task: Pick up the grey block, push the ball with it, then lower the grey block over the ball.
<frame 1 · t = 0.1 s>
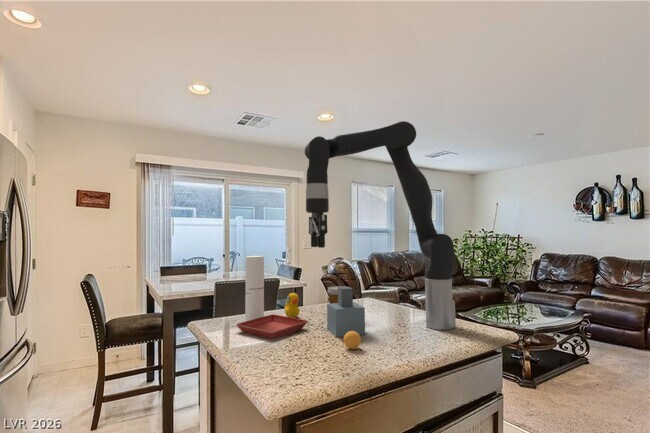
hand: (317, 247, 114), 29 cm above the counter, tool pointing down, fingers open, 8 cm apart
ball: (352, 339, 101), on the counter
disposable coffee cup: (339, 318, 140), on the counter
duckling: (292, 318, 141), on the counter
grey block: (345, 331, 119), on the counter
plant saucer: (272, 332, 122), on the counter
cylindrical container: (254, 320, 137), on the counter
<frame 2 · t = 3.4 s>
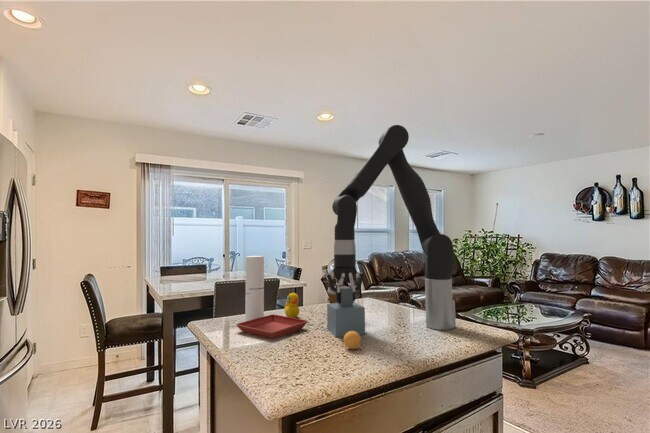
hand: (345, 302, 120), 10 cm above the counter, tool pointing down, fingers closed on grey block, 4 cm apart
grey block: (345, 331, 119), on the counter, touching gripper
everything else where it was.
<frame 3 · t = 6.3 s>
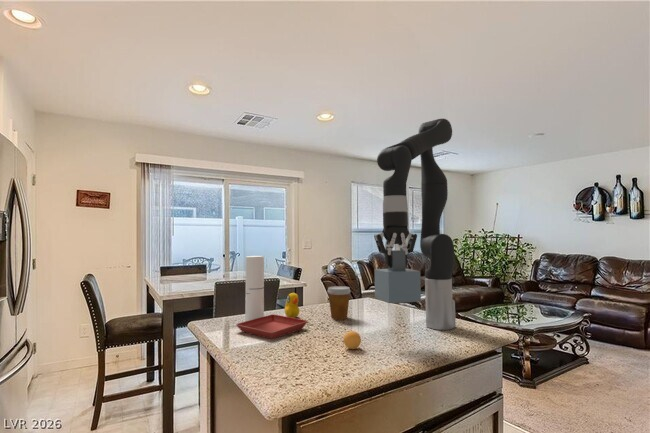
hand: (396, 267, 106), 23 cm above the counter, tool pointing down, fingers closed on grey block, 4 cm apart
grey block: (397, 299, 106), point 13 cm above the counter, touching gripper
everything else where it was.
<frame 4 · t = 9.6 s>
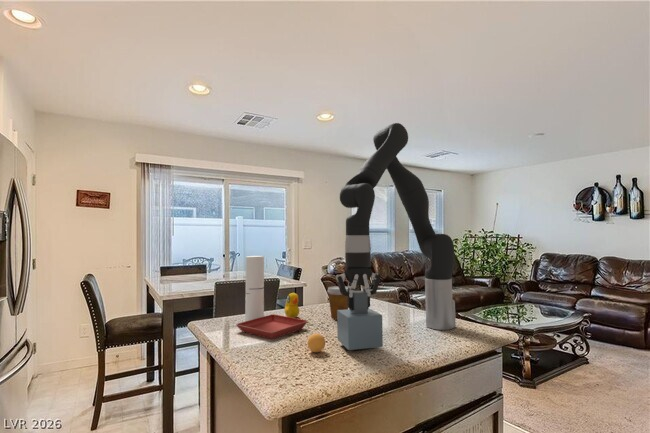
hand: (358, 309, 102), 11 cm above the counter, tool pointing down, fingers closed on grey block, 4 cm apart
ball: (316, 342, 99), on the counter
grey block: (359, 343, 102), point 1 cm above the counter, touching gripper
everything else where it was.
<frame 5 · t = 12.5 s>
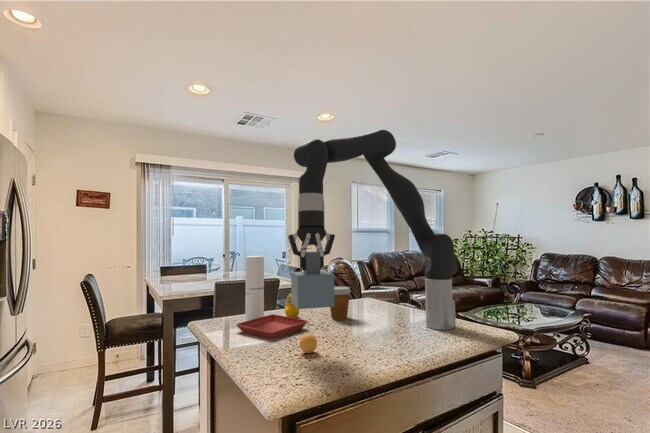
hand: (311, 269, 99), 23 cm above the counter, tool pointing down, fingers closed on grey block, 4 cm apart
ball: (308, 343, 98), on the counter
grey block: (312, 304, 99), point 13 cm above the counter, touching gripper
everything else where it was.
when the fingers open (10 cm above the counter, at t = 15.2 s): grey block stays where it is, on the counter.
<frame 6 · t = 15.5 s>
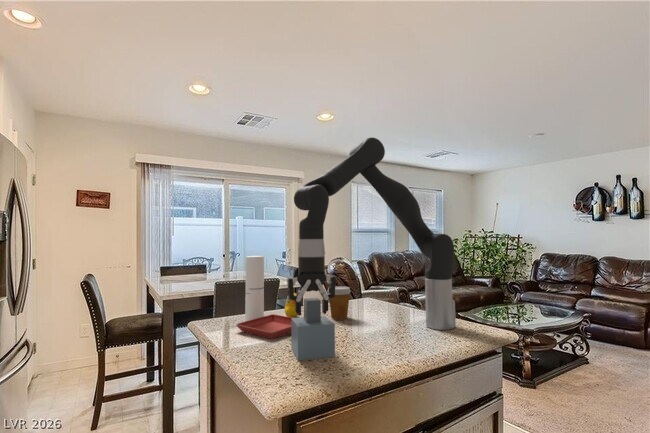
hand: (311, 313, 99), 11 cm above the counter, tool pointing down, fingers open, 6 cm apart
grey block: (312, 352, 98), on the counter
everything else where it was.
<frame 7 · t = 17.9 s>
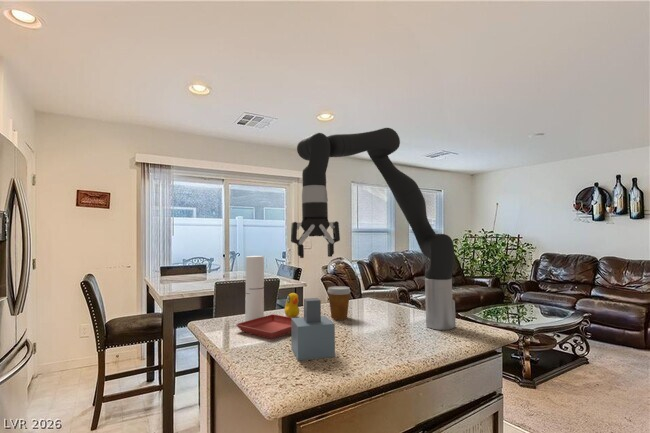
hand: (315, 257, 102), 27 cm above the counter, tool pointing down, fingers open, 8 cm apart
nothing on the counter moved.
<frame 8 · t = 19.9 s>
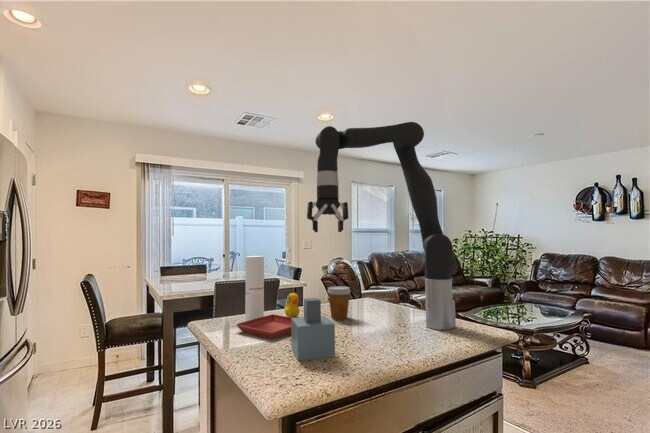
hand: (328, 232, 120), 34 cm above the counter, tool pointing down, fingers open, 8 cm apart
nothing on the counter moved.
at the end: ball 1.1 cm from the grey block (horizontally); grey block on the counter; ball moved 13.0 cm from its start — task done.
